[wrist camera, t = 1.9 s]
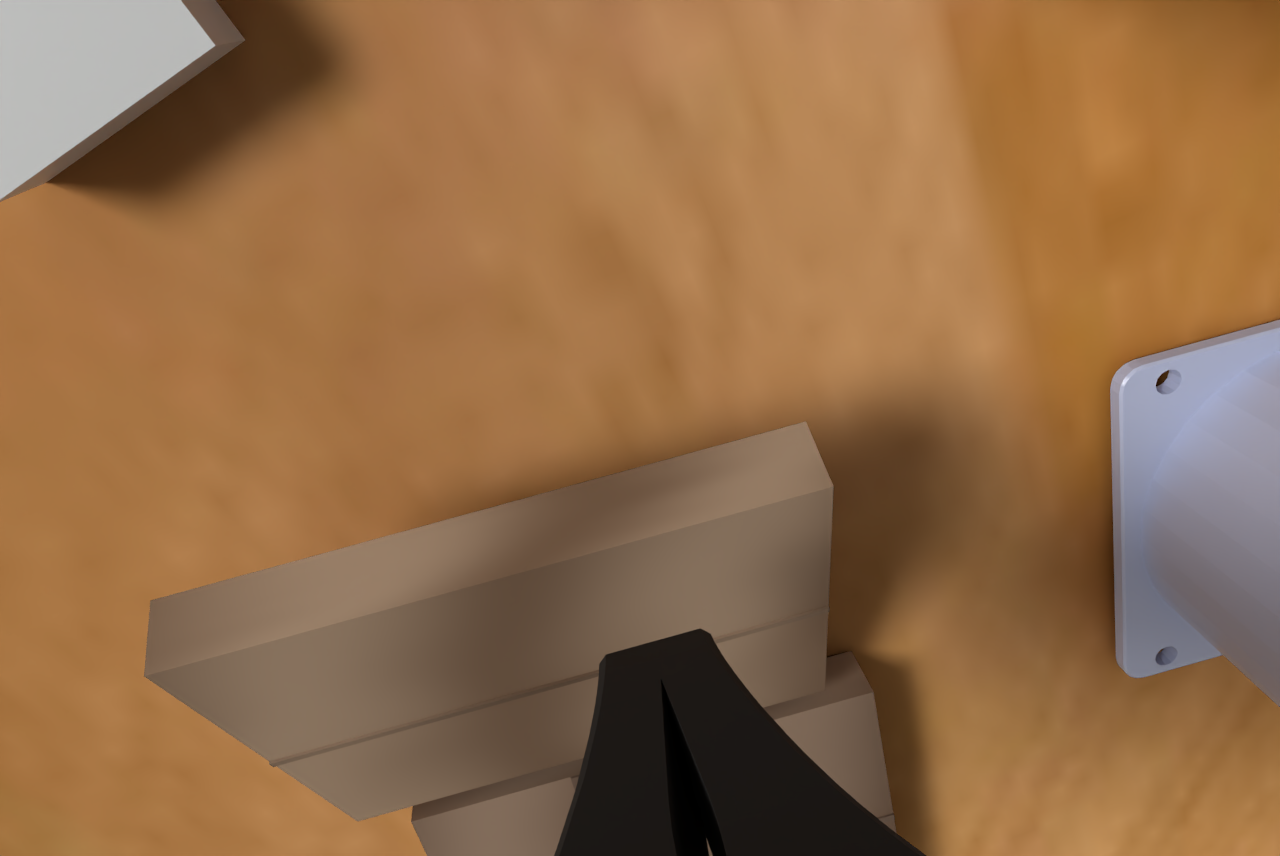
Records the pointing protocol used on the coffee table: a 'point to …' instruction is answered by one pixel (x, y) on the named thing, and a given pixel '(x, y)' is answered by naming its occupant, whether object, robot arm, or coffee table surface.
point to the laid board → (819, 724)
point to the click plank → (507, 623)
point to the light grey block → (92, 73)
